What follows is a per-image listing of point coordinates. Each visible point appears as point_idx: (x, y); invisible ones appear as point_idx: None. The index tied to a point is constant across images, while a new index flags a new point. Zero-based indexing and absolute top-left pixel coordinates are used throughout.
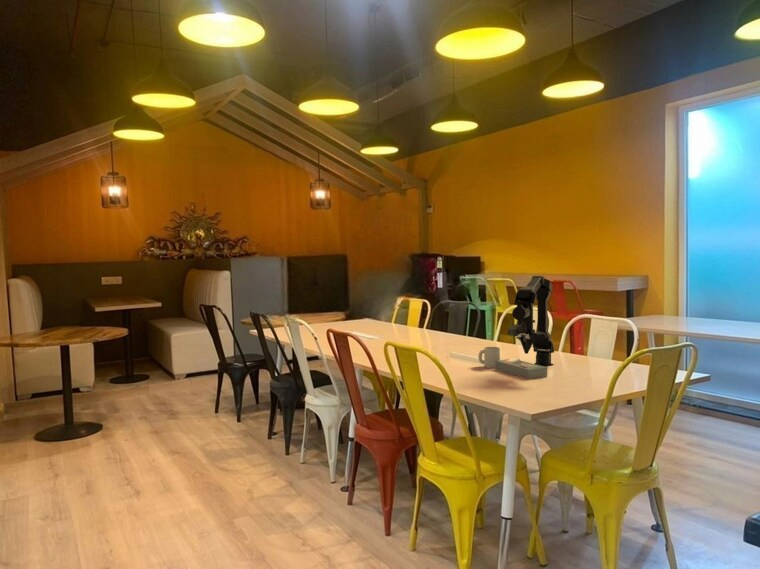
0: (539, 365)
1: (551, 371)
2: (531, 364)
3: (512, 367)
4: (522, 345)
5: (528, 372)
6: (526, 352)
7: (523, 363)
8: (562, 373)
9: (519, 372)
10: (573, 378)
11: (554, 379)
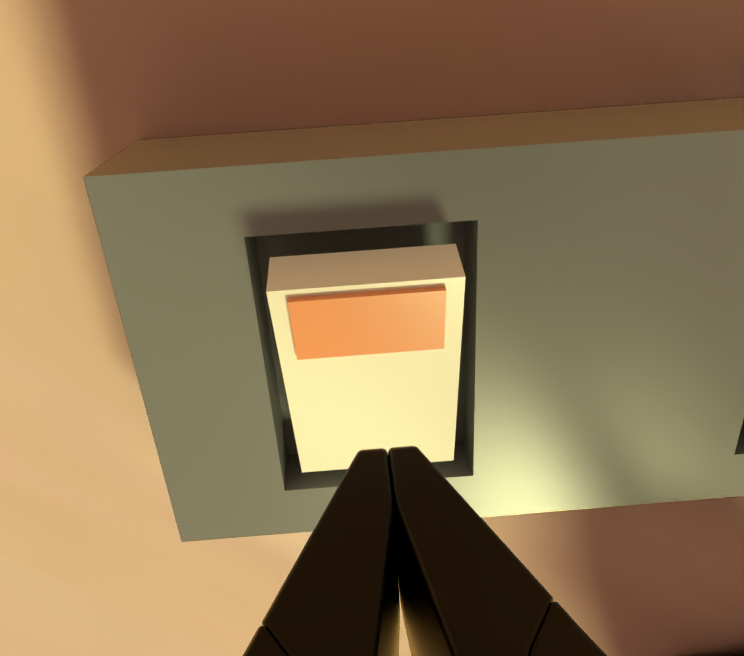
0: None
1: None
2: (477, 467)
3: (600, 129)
4: (535, 613)
5: (114, 163)
6: (347, 479)
7: (413, 290)
8: None
9: (380, 135)
10: (31, 616)
11: (27, 436)
